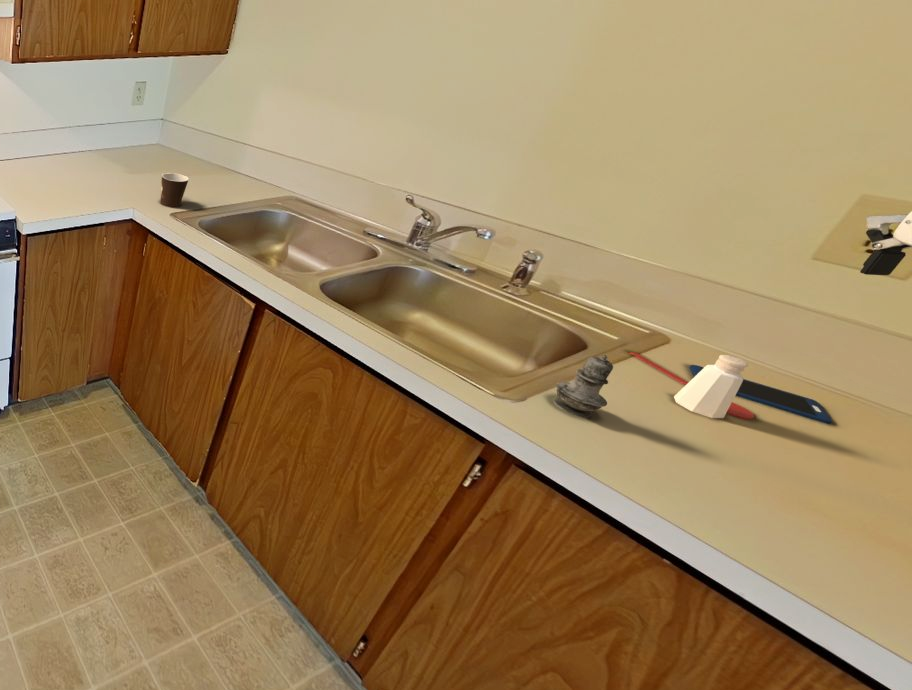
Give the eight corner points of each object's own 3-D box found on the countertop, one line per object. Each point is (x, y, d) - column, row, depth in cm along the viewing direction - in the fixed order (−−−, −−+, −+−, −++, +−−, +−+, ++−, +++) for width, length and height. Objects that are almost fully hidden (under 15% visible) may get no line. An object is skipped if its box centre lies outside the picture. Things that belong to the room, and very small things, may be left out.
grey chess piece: (563, 417, 88) (597, 362, 83) (538, 393, 93) (569, 341, 88) (607, 425, 86) (644, 370, 81) (579, 401, 91) (613, 347, 87)
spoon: (762, 421, 87) (764, 419, 87) (732, 419, 87) (734, 417, 87) (644, 355, 103) (645, 352, 103) (619, 353, 103) (621, 351, 103)
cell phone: (832, 426, 86) (835, 423, 86) (695, 384, 95) (698, 381, 95) (815, 404, 91) (818, 400, 90) (687, 365, 100) (689, 362, 99)
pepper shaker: (716, 424, 86) (756, 373, 82) (666, 402, 91) (701, 353, 87) (728, 415, 88) (768, 365, 84) (679, 393, 93) (714, 345, 89)
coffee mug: (177, 210, 171) (183, 183, 167) (153, 204, 176) (157, 177, 172) (190, 201, 179) (195, 174, 175) (166, 195, 184) (170, 169, 180)
